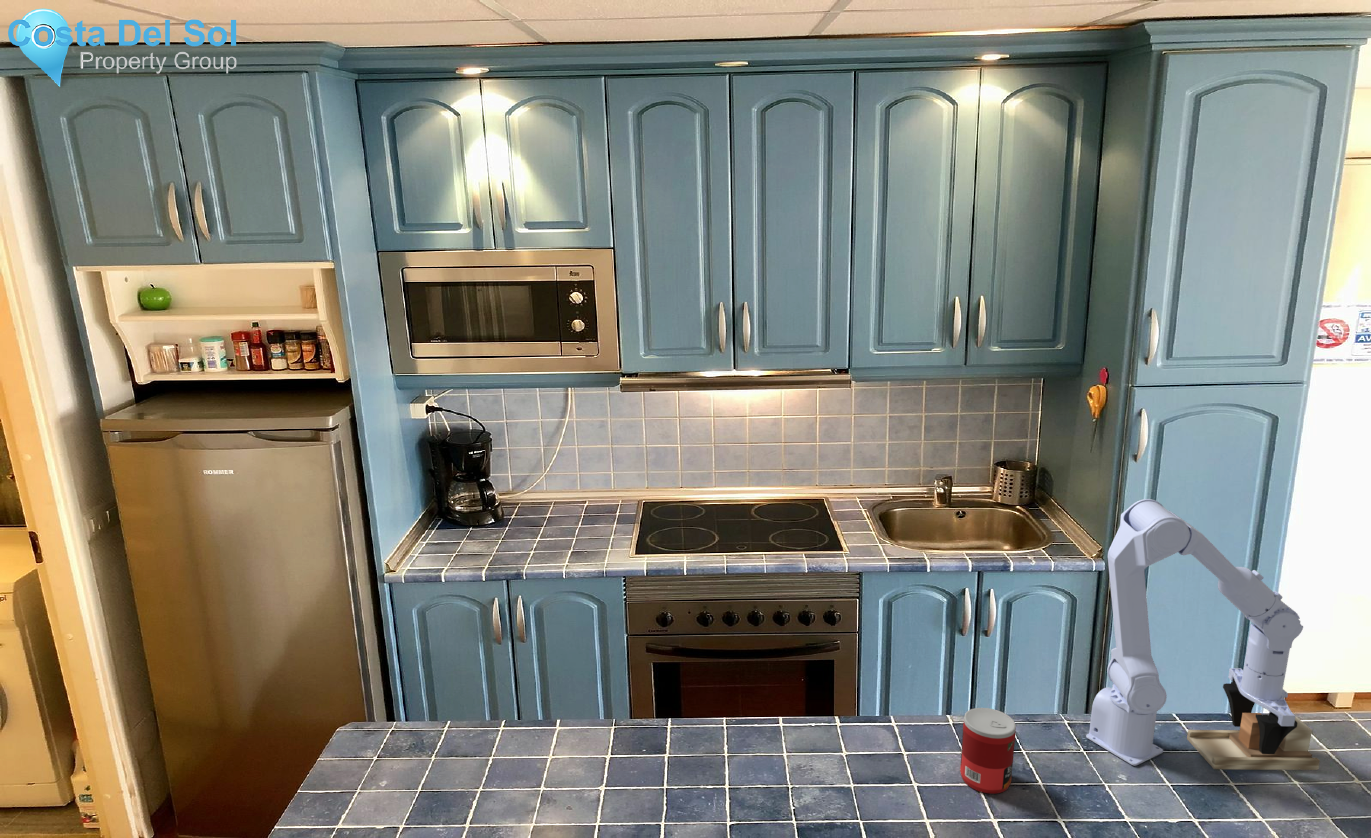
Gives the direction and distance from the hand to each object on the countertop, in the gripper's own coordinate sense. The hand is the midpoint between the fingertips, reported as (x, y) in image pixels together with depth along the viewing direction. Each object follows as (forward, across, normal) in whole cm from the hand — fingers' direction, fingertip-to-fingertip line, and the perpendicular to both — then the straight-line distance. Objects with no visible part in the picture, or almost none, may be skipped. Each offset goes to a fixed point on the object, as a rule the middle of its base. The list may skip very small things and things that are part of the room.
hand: (1253, 739), depth 145 cm
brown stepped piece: (+2, 0, -3) cm, 4 cm away
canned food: (+3, -7, +47) cm, 48 cm away
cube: (+1, 0, -6) cm, 6 cm away
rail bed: (+3, 0, 0) cm, 3 cm away
